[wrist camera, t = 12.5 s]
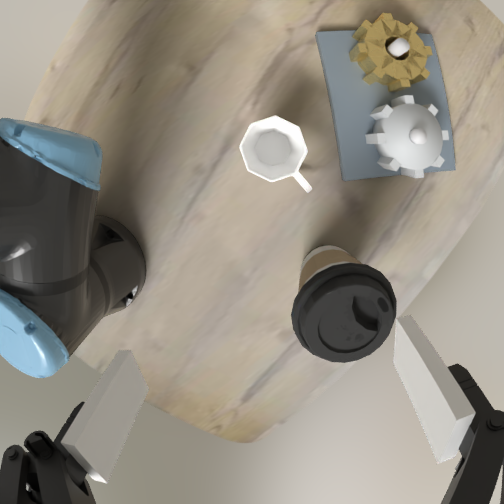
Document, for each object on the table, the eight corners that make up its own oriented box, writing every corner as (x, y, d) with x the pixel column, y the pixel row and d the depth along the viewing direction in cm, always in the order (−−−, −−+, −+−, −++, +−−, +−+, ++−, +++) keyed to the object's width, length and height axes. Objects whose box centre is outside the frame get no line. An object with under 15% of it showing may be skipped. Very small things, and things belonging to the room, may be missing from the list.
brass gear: (357, 93, 34) (367, 87, 29) (341, 24, 31) (348, 11, 26) (424, 92, 33) (440, 87, 28) (408, 26, 30) (421, 16, 25)
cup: (275, 110, 37) (276, 101, 29) (326, 169, 39) (340, 175, 31) (233, 146, 38) (224, 146, 31) (285, 203, 40) (289, 217, 33)
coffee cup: (378, 276, 43) (419, 331, 29) (314, 318, 46) (329, 386, 31) (338, 213, 40) (372, 248, 26) (269, 261, 43) (268, 317, 29)
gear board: (342, 179, 39) (357, 187, 32) (315, 35, 33) (324, 14, 26) (450, 169, 37) (479, 175, 30) (426, 37, 31) (451, 22, 24)
